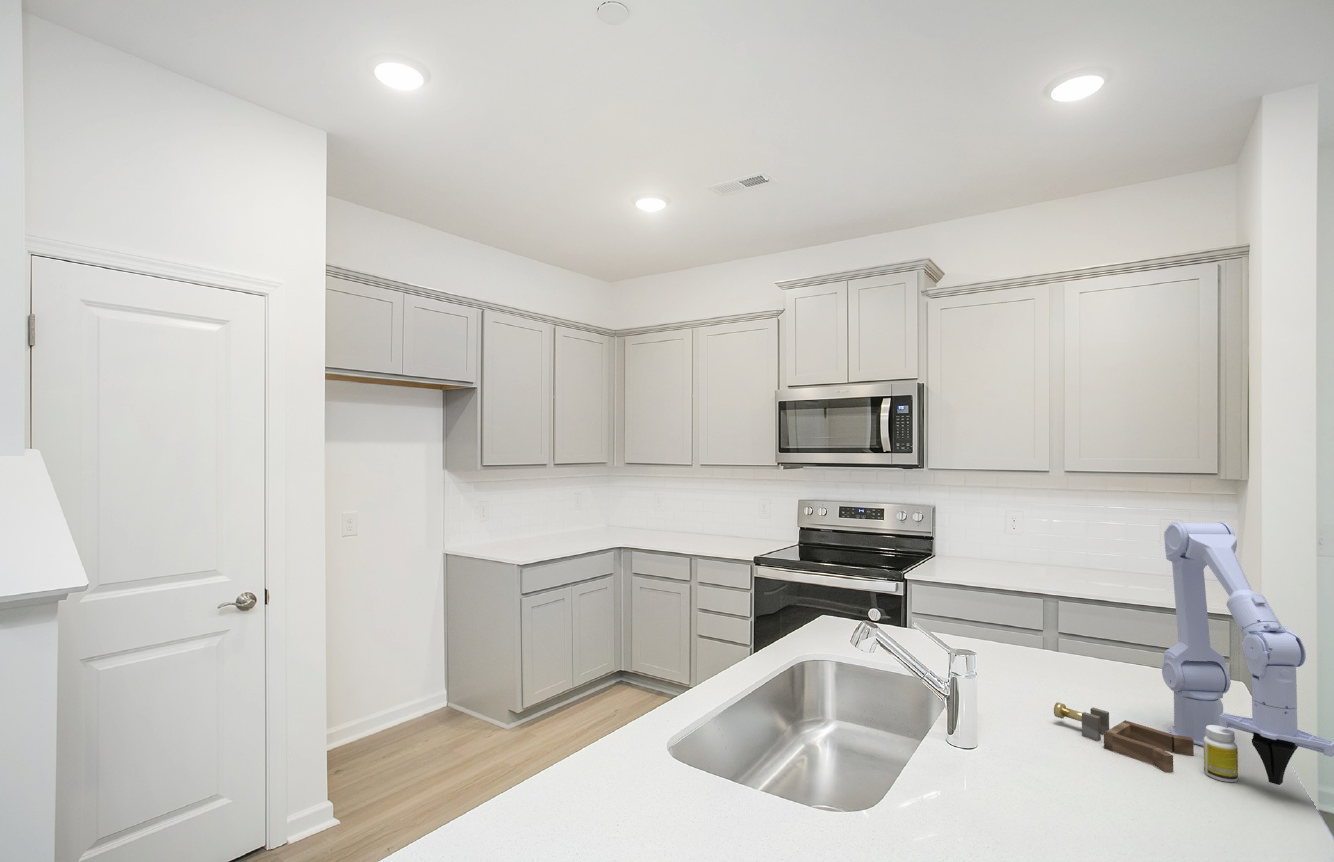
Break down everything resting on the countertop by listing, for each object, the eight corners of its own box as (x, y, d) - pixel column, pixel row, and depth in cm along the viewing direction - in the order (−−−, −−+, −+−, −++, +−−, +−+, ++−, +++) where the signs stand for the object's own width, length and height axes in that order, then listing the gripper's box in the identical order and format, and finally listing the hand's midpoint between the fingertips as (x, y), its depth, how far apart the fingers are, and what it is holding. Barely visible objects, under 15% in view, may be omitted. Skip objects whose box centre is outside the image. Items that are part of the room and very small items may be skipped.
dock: (1101, 724, 142) (1101, 703, 142) (1196, 754, 128) (1195, 730, 128) (1073, 741, 134) (1072, 718, 134) (1170, 774, 121) (1170, 748, 121)
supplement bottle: (1244, 784, 117) (1243, 736, 117) (1213, 781, 118) (1213, 734, 118) (1227, 771, 122) (1226, 724, 122) (1198, 768, 123) (1197, 722, 123)
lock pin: (1060, 714, 144) (1060, 701, 144) (1097, 726, 138) (1097, 712, 138) (1053, 718, 142) (1053, 704, 142) (1090, 730, 136) (1090, 715, 136)
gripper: (1213, 694, 118) (1214, 771, 117) (1326, 722, 106) (1328, 808, 106) (1226, 685, 122) (1228, 760, 121) (1337, 712, 110) (1339, 794, 110)
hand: (1275, 782), depth 114 cm, fingers closed
